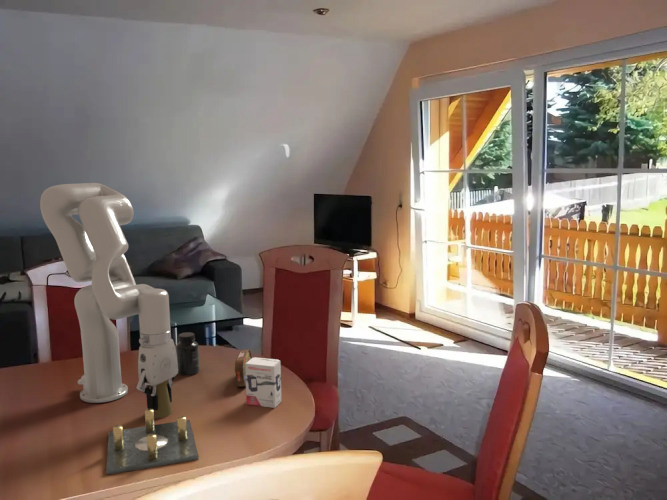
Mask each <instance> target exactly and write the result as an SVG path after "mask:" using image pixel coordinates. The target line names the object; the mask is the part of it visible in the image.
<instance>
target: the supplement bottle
mask: <svg viewBox="0 0 667 500" xmlns="http://www.w3.org/2000/svg"><path fill="white" fill-rule="evenodd" d="M177 337H178V343H177V344H176V345H175V349H176V355H177V363H178V373H177V374H178V375H180V376H183V377H184V376H193V375H196V374H199V372H200V351H199V350H200V349H199V343H198V342H197V341H195V340H196V337H195V333H193V332H189V331H188V332H182V333H179V334H178V336H177Z"/></svg>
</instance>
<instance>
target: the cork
mask: <svg viewBox="0 0 667 500" xmlns="http://www.w3.org/2000/svg"><path fill="white" fill-rule="evenodd" d="M167 383H168V380H166V381H164V382H163V383H160V384H158V385H156V394H155V395H157V396H158V410H154V419H163V418H167V417H169V416H171V414H173V409H172V404H171V403H172V402H171V403H170V398H169V393H168V388H167ZM151 387H152V386H150V387H149V388H150V389H151Z"/></svg>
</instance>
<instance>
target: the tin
mask: <svg viewBox="0 0 667 500" xmlns="http://www.w3.org/2000/svg"><path fill="white" fill-rule="evenodd" d="M252 358H253V357H252V353H251V350H250V349H244V350H240V351H239V353H238V355H237V357H236V358H235V363H234V373H235V382H236V386H237V387H240V388H241V387H246V363H247V362H248V361H249V360H250V359H252Z"/></svg>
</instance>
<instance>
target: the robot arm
mask: <svg viewBox="0 0 667 500" xmlns="http://www.w3.org/2000/svg"><path fill="white" fill-rule="evenodd" d="M39 201H40V202H39V203H40V204H39V205H40V206H39V208H40V212H41V216H42V219H43V221H44V223H45V225H46V227H47V228H48V230H49V232H50V233H51V234H52V236H53V238H54V239H55V241H56V244H57V247H58V250H59V252H60V255H61V257H62V259H63V263H64V266H65V268H66V270H67V272H68V274H69V276H70V278H71V279H72V280H73V281H74V282H76V283H86V282H91V284H90V285H87V286H84V287H82V288H80V289H79V290H78V291H77V292H76V294H75V296H74V308H75V311H76V315H77V319H78V322H79V323H78V324H79V328H80V337H81V338H80V339H81V347H82V348H81V349H82V363H83V372H84V374H83V375H82V376H81V377H80V379H78V380H77V384H78V385H82V387H83V388H82V390H81V391H80V392H79V398H80V400H81V401H83V402H85V403H90V404H99V403H107V402H112V401H115V400H119V399H121V398H123V397H124V396H126V395H127V394H128V392H129V388H128V386H127V384H125V383H122V381H123V380H122V368H121V356H120V339H119V332H118V329H117V327H116V325H115V324H114V323H113V322H112V320H115V321H116V320H120V319H124V318H125V319H126V318H128V317H129V318H130V317H132V316H136V315H138V323H139V339H138V342H139V344H140V345H139V348H138V358H137V359H138V361H137V365H138V366H137V369H138V370H137V373H138V382H137V385H136V388H135V389H137V390H138V391H141V392H142V393H143V394H144V395H146V408H147V409H153V410H158V396H157V395H155V394H156V385H158V384H160V383H163V382H164V381H166V380H168V383H167V388H168V393H169V398H170V403H172V401H173V398H172V387H173V385H174V384H173V383H174V380H175V377H176V376H177V374H178V363H177V355H176V345H175V342H174V339H173V338H172V332H171V312H170V295H169V293H168V291H167V290H165V289H163V288H155V287H153V286H150V285H148V284H145V283H140V284H137V283H136V281H135V278H134V276H133V272H132V271H131V267H130V266H129V263H128V260H127V258H126V256H125V253H126V252H127V251H128V250H129V243H128V241H127V238H126V237H125V234H124V232H123V230H122V227H121V226H124V225H127V224H129V223H131V222H132V221H133V219H134V214H135V213H134V208H133V206H132V205H133V204H132V203H131V202H130V201H131V200H130V199H128V198H127V196H125V195H124V194H122V193H120V192H119V191H116V190H115V189H113V188H110V187H109V186H107V185H105V184H102V183H99V182H85V183H84V182H82V183H65V184H63V183H62V184H57V185H52V186H50V187H48V188H46V189H45V190H43V192H42V193H41V196H40V200H39ZM74 215H78V217H79V220H80V221H78V220H77V219H76V218H74V217H73V216H74ZM150 386H152V387H151V389H150Z"/></svg>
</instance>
